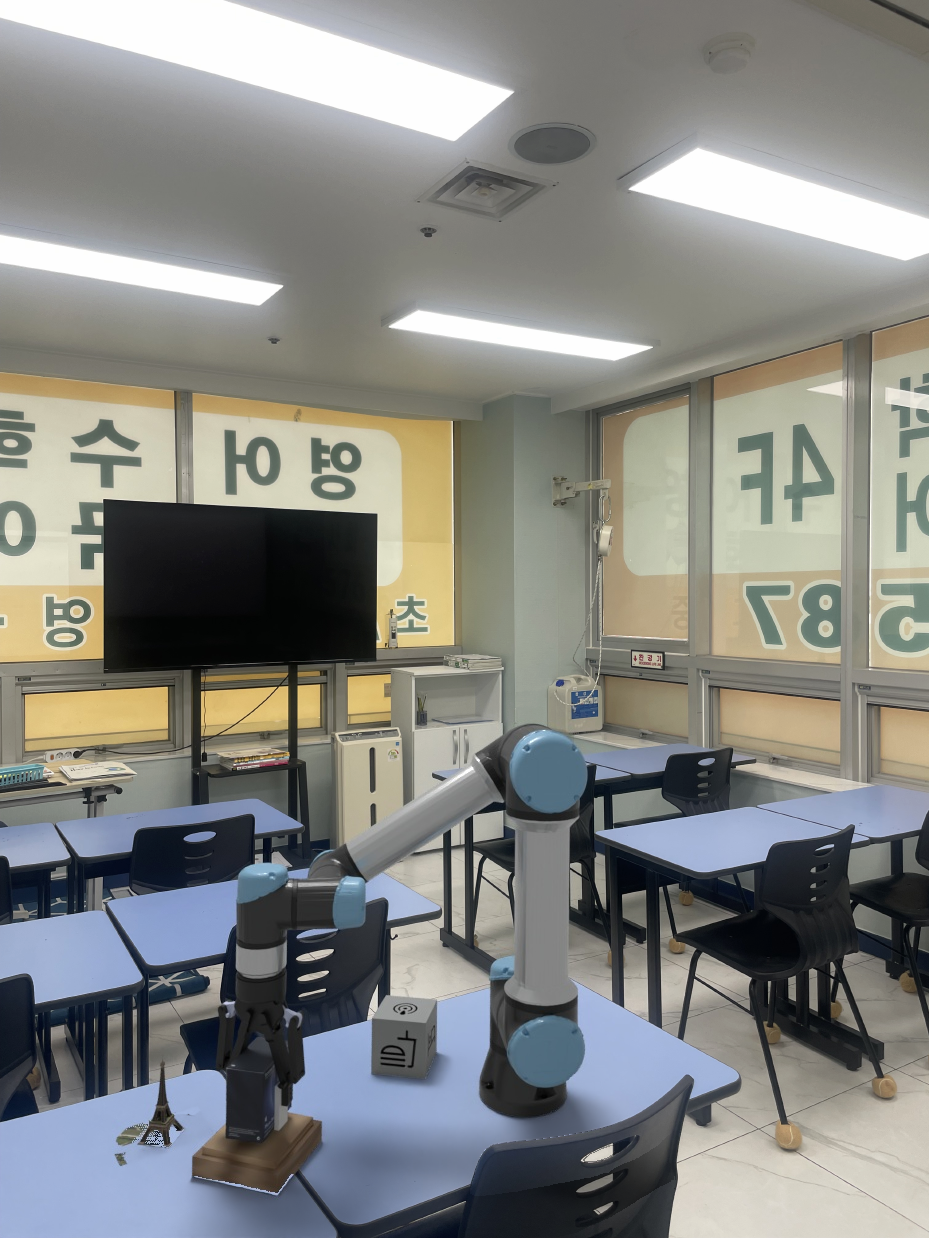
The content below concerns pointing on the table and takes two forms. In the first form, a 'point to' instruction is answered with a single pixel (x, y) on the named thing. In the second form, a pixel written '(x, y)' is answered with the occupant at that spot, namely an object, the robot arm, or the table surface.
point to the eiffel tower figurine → (152, 1123)
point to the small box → (251, 1093)
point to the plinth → (259, 1155)
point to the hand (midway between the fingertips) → (259, 1120)
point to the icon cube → (404, 1036)
